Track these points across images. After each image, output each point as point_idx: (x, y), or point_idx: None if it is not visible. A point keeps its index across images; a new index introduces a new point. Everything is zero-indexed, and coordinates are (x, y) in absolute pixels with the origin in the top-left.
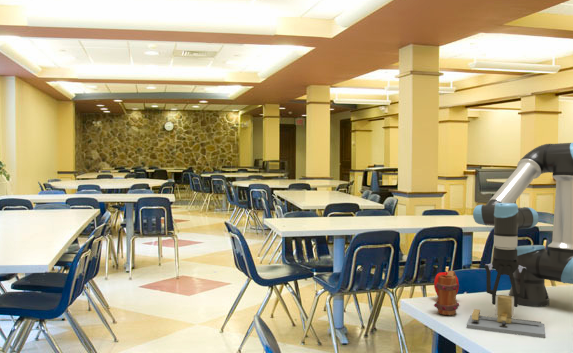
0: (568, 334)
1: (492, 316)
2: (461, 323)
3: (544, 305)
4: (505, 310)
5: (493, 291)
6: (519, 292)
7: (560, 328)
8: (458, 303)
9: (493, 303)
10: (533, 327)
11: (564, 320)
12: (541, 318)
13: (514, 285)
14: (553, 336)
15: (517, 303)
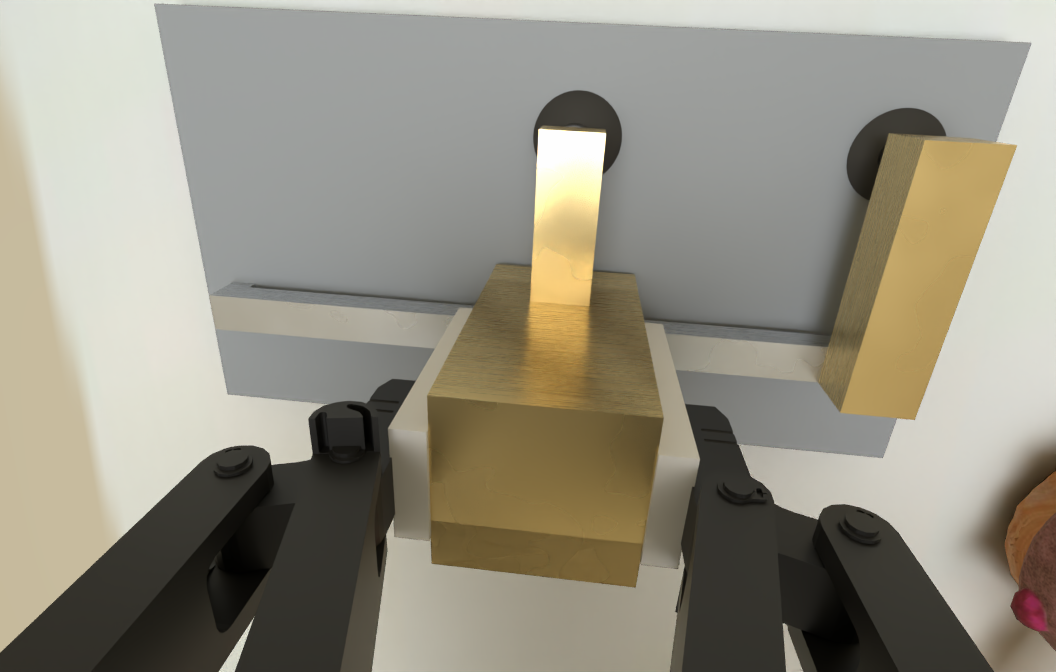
0: (43, 237)
1: (684, 357)
2: (1014, 230)
3: None
4: (544, 319)
5: (758, 527)
6: (274, 557)
7: (133, 388)
8: (1035, 620)
9: (705, 412)
10: (293, 234)
11: None
12: None
13: (273, 624)
14: (130, 114)
15: (369, 402)
